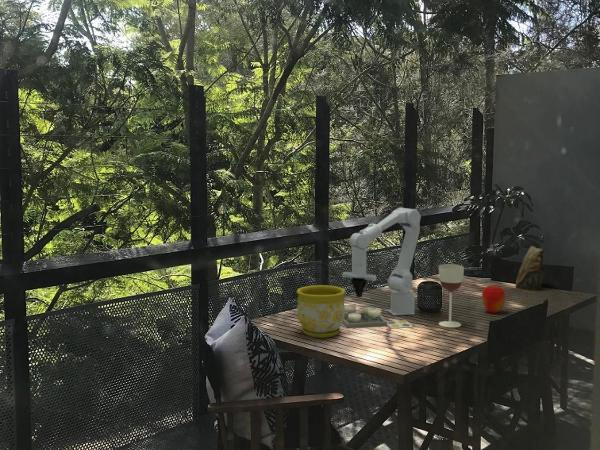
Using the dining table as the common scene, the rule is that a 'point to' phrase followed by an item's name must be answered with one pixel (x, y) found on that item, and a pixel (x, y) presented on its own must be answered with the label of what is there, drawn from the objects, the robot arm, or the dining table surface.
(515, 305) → the dining table surface
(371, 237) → the robot arm
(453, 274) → the wineglass
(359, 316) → the button
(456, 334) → the dining table surface
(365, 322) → the button board
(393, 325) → the card
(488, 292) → the apple
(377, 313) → the button
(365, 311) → the button
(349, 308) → the button
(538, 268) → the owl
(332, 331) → the flowerpot
